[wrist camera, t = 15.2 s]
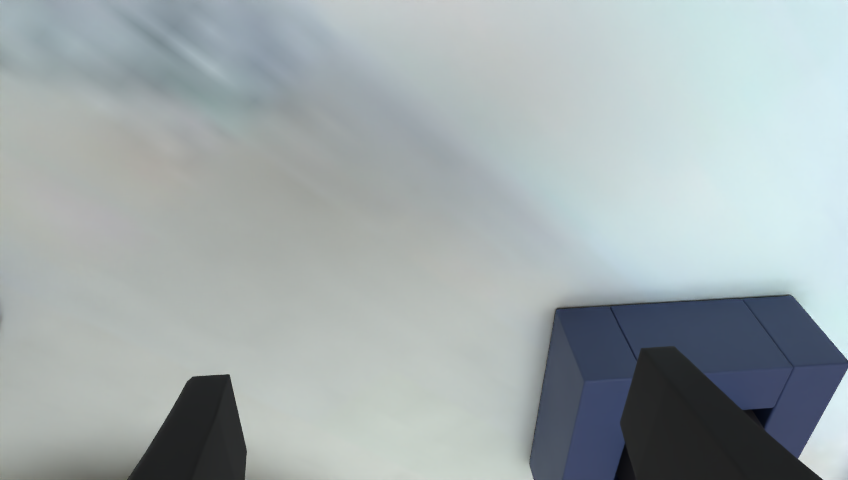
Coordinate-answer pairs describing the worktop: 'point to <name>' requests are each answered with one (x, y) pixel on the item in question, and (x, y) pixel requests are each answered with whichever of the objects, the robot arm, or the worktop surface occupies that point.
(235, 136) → the worktop surface
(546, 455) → the dock
